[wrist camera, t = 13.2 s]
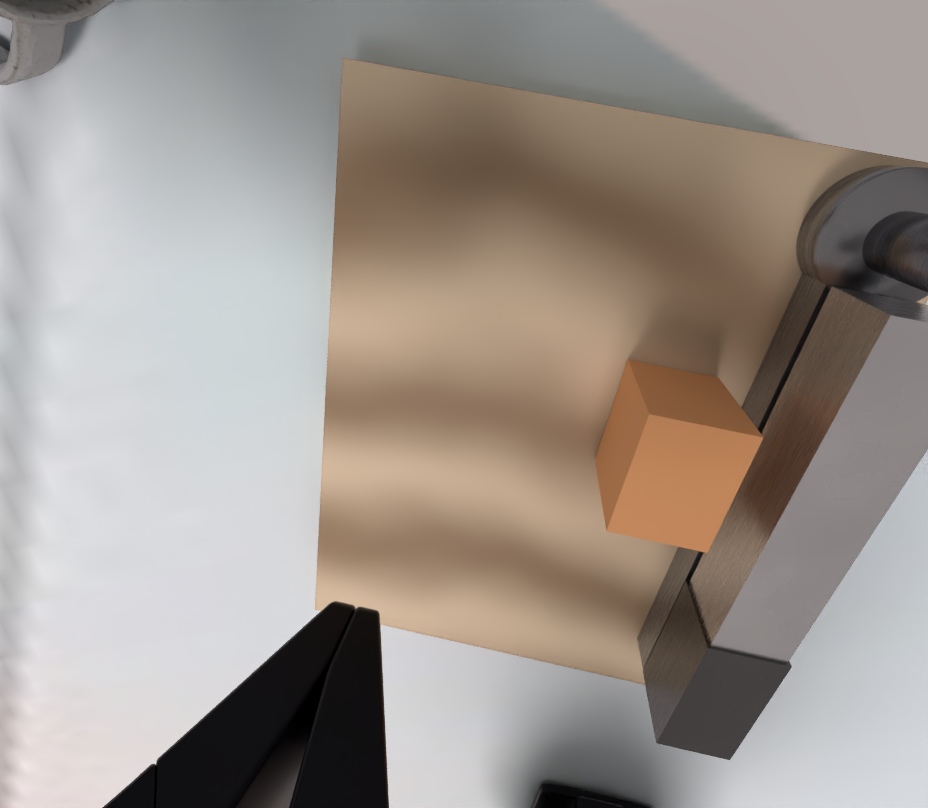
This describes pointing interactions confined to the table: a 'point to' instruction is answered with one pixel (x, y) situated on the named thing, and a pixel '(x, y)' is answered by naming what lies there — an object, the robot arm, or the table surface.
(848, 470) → the tongs upper
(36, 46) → the ceramic mug
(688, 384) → the tan rectangular block
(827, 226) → the tongs lower
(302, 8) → the table surface
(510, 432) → the serving board
